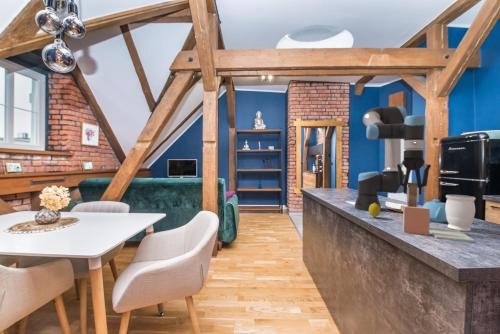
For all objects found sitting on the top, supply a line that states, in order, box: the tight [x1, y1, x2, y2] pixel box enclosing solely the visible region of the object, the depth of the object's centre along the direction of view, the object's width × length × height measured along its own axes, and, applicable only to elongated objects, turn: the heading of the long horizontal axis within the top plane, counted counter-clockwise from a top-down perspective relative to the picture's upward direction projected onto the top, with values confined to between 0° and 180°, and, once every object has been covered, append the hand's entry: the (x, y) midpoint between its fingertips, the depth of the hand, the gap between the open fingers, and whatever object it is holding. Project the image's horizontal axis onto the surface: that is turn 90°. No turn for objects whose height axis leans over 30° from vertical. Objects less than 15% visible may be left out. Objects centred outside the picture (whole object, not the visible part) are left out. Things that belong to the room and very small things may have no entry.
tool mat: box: [429, 227, 475, 243], centre depth 104 cm, size 14×12×1 cm
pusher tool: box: [400, 182, 423, 213], centre depth 114 cm, size 5×8×13 cm, turn 68°
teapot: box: [417, 198, 449, 224], centre depth 130 cm, size 15×15×11 cm
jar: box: [445, 194, 476, 232], centre depth 114 cm, size 11×10×15 cm
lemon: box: [368, 203, 381, 218], centre depth 134 cm, size 6×6×8 cm
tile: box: [402, 205, 430, 236], centre depth 106 cm, size 2×9×11 cm, turn 68°
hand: (412, 201), depth 114 cm, fingers closed on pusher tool, 3 cm apart
